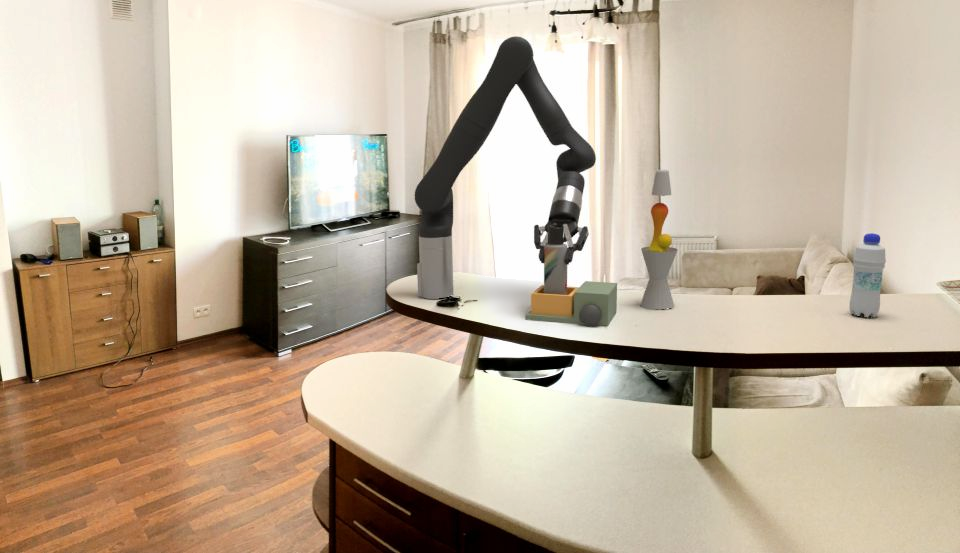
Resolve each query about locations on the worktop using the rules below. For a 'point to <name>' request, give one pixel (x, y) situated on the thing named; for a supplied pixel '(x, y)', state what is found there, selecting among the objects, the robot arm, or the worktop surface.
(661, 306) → the lava lamp
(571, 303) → the tray with knob box
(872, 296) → the bottle
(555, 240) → the lotion bottle
